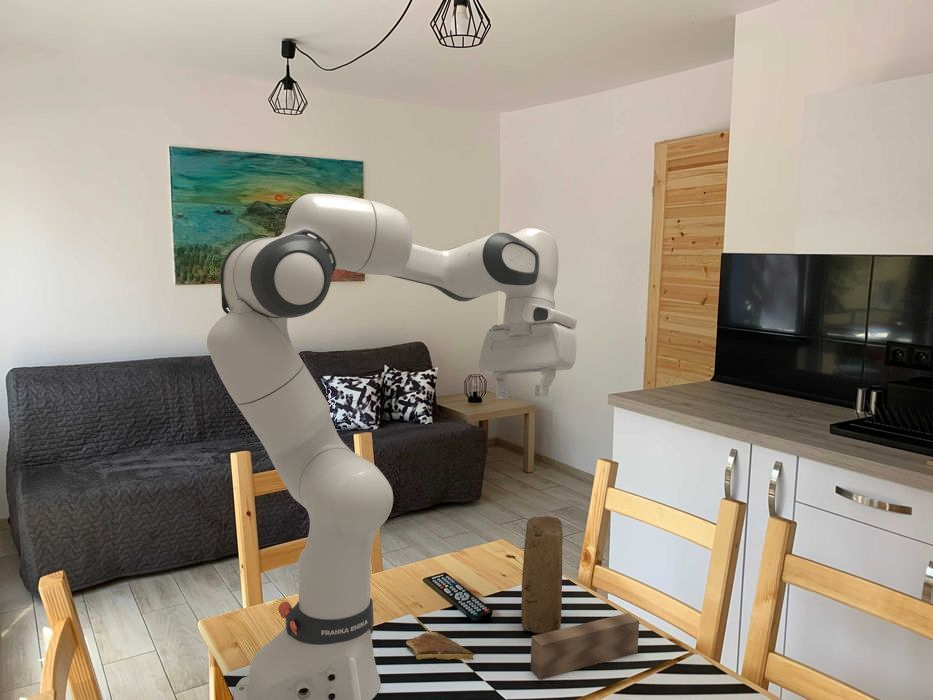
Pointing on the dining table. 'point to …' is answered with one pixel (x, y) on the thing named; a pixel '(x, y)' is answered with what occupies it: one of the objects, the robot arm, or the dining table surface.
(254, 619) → the dining table surface
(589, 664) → the board
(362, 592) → the robot arm
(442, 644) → the brown flat angular piece
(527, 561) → the weathered terracotta carving
